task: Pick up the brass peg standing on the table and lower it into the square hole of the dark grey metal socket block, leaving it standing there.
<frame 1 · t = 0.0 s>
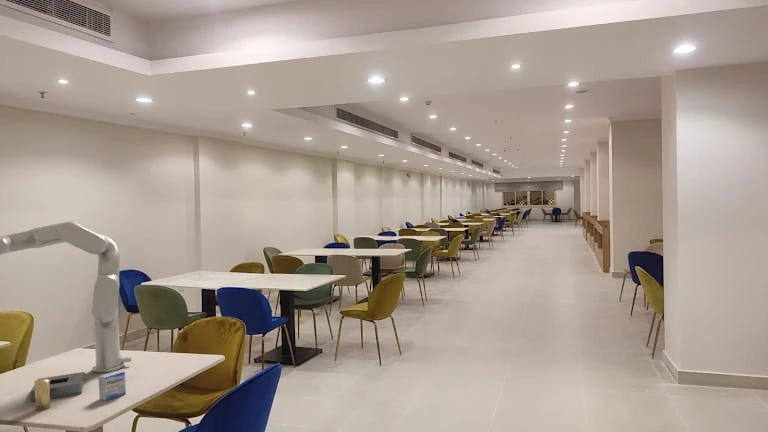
socket block: (59, 391, 200), on the table
brass peg: (43, 408, 183), on the table
medicine box: (112, 397, 192), on the table
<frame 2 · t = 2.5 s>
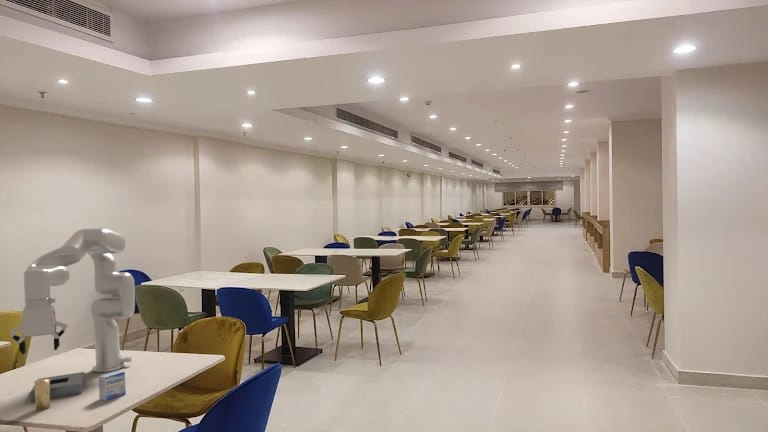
hand: (40, 351, 182), 20 cm above the table, tool pointing down, fingers open, 9 cm apart
nothing on the table moved.
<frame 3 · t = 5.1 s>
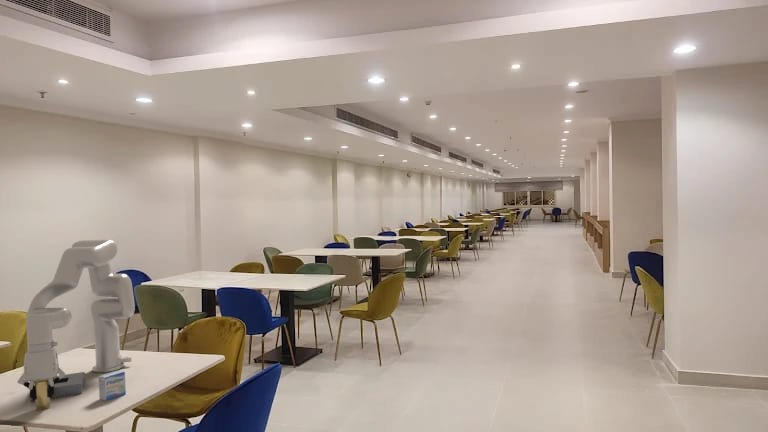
hand: (42, 397, 182), 4 cm above the table, tool pointing down, fingers closed on brass peg, 4 cm apart
brass peg: (43, 408, 183), on the table, touching gripper
everything else where it was.
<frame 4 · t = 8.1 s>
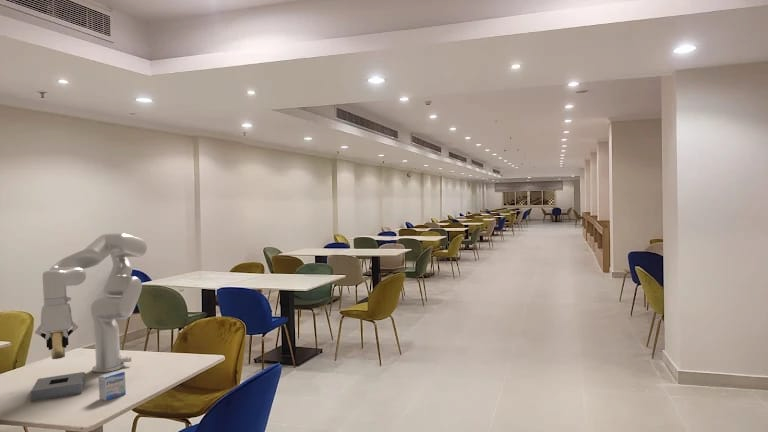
hand: (57, 347, 200), 17 cm above the table, tool pointing down, fingers closed on brass peg, 4 cm apart
brass peg: (58, 357, 200), point 13 cm above the table, touching gripper
everything else where it was.
when the fingers open (5 cm above the table, at t = 11.1 s): brass peg drops 1 cm, resting in socket block.
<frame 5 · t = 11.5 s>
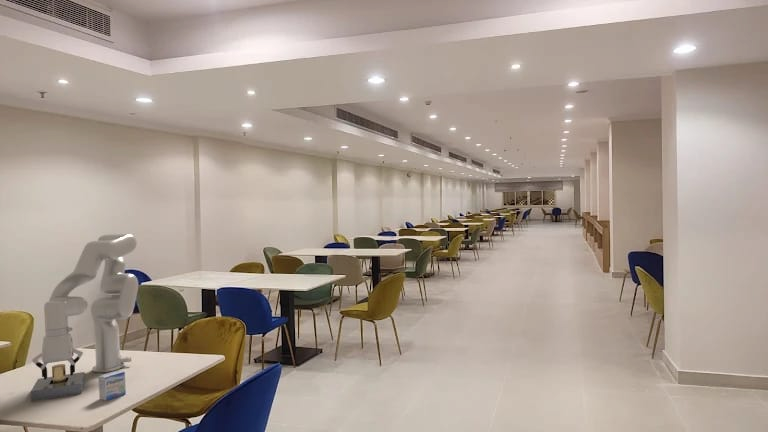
hand: (58, 376, 200), 6 cm above the table, tool pointing down, fingers open, 8 cm apart
brass peg: (59, 391, 200), resting in socket block
everything else where it was.
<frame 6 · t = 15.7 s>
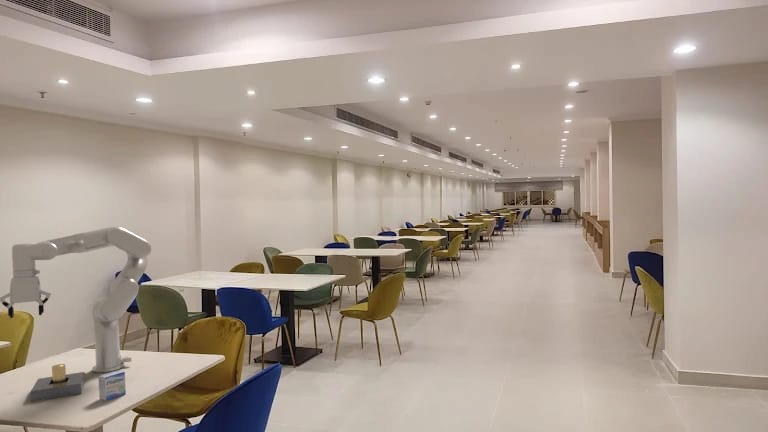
hand: (26, 316, 208), 28 cm above the table, tool pointing down, fingers open, 9 cm apart
nothing on the table moved.
at the end: brass peg 0.1 cm off-centre on the socket block, point 0.0 cm above the socket block's base; brass peg tilted 0°; the gripper is holding nothing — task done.
